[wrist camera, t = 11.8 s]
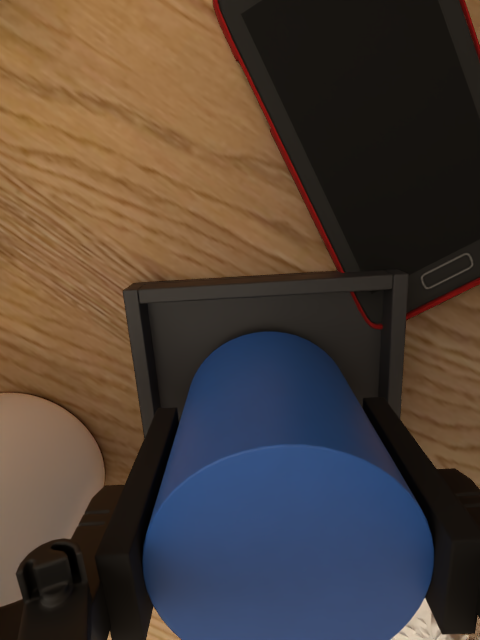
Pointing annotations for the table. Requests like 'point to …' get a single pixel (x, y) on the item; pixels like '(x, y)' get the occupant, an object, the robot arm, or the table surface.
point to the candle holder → (41, 480)
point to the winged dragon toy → (425, 627)
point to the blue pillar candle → (282, 507)
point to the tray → (264, 328)
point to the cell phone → (375, 131)
